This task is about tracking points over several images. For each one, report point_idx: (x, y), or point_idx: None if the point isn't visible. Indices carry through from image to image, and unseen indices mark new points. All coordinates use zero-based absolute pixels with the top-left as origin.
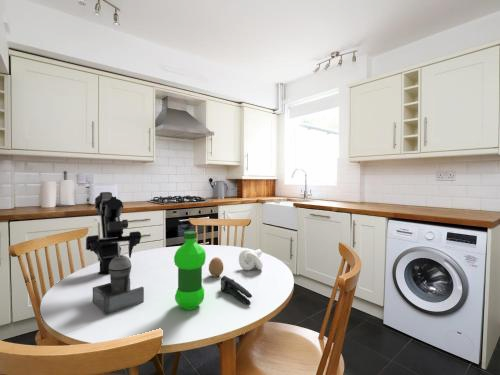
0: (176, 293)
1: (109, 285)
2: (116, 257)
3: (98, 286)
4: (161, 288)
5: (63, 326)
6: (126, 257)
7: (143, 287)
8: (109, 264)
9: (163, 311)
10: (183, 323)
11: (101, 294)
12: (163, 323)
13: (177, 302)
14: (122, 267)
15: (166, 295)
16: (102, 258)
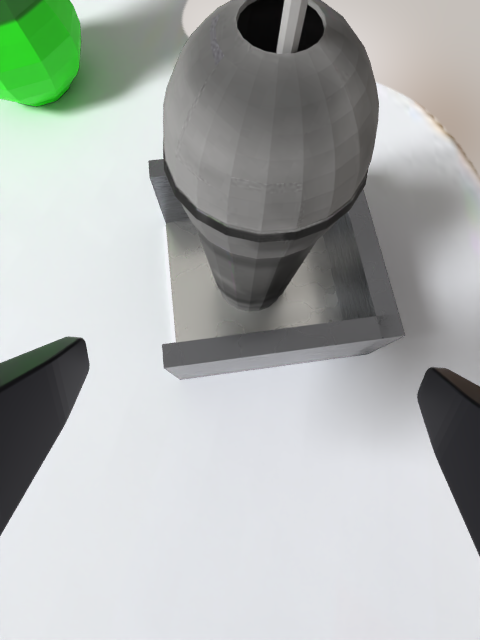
0: (60, 18)
1: (302, 328)
2: (330, 13)
3: (370, 330)
4: (26, 302)
5: (467, 198)
6: (207, 19)
7: (149, 162)
8: (377, 117)
9: (137, 101)
10: (124, 13)
11: (362, 202)
12: (173, 42)
13: (79, 51)
14: (267, 51)
15: (54, 211)
16: (454, 382)
